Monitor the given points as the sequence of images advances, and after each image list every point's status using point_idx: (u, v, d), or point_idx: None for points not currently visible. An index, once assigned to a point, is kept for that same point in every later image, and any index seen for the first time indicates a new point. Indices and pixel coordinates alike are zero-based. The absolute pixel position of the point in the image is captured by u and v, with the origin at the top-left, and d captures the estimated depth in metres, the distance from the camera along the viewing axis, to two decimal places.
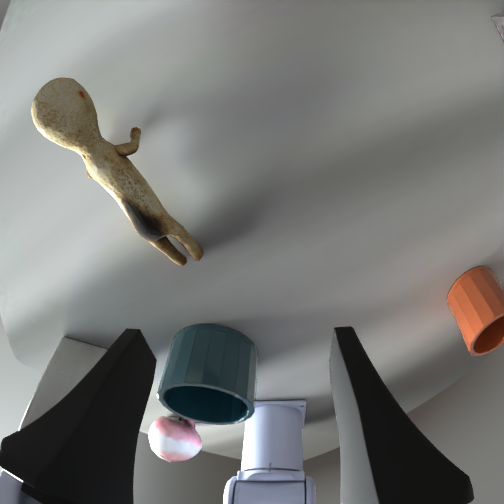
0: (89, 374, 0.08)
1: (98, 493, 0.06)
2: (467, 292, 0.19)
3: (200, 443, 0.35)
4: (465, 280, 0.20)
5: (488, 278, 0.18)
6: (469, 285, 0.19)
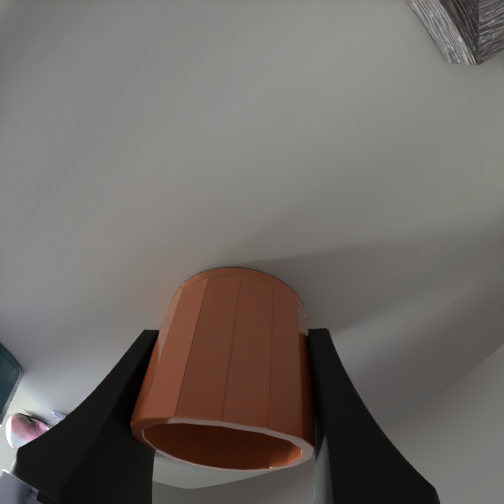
0: (108, 378, 0.08)
1: (119, 500, 0.06)
2: (162, 328, 0.10)
3: None
4: (174, 299, 0.10)
5: (218, 301, 0.09)
6: (171, 312, 0.10)
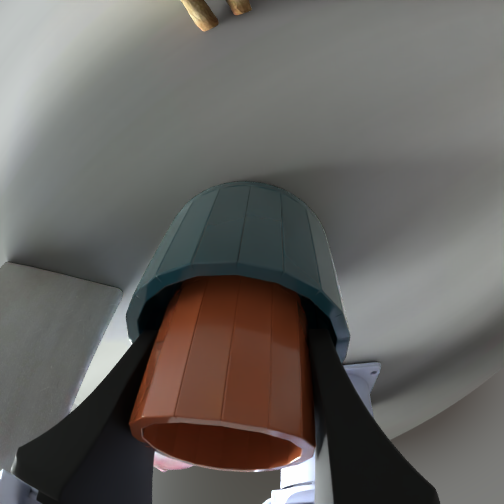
0: (108, 377, 0.08)
1: (119, 500, 0.06)
2: (161, 327, 0.09)
3: None
4: (174, 298, 0.10)
5: (217, 299, 0.09)
6: (170, 311, 0.10)
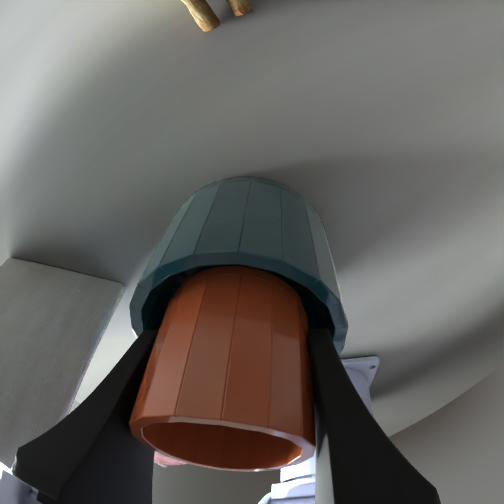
0: (108, 378, 0.08)
1: (119, 500, 0.06)
2: (162, 326, 0.09)
3: None
4: (174, 298, 0.10)
5: (217, 299, 0.09)
6: (170, 310, 0.10)
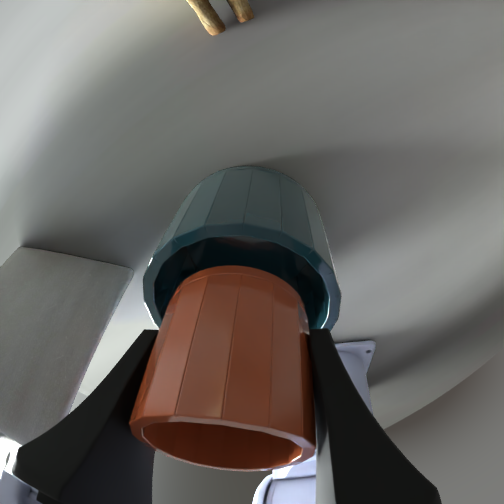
0: (108, 377, 0.08)
1: (119, 500, 0.06)
2: (162, 326, 0.09)
3: None
4: (174, 298, 0.10)
5: (218, 298, 0.09)
6: (170, 310, 0.10)
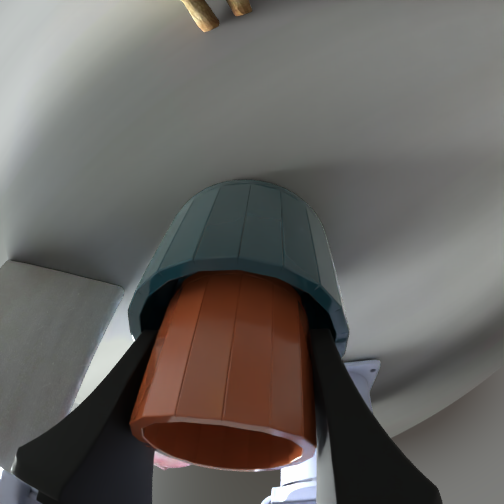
0: (108, 378, 0.08)
1: (119, 500, 0.06)
2: (162, 326, 0.09)
3: None
4: (174, 297, 0.10)
5: (218, 298, 0.09)
6: (171, 310, 0.10)
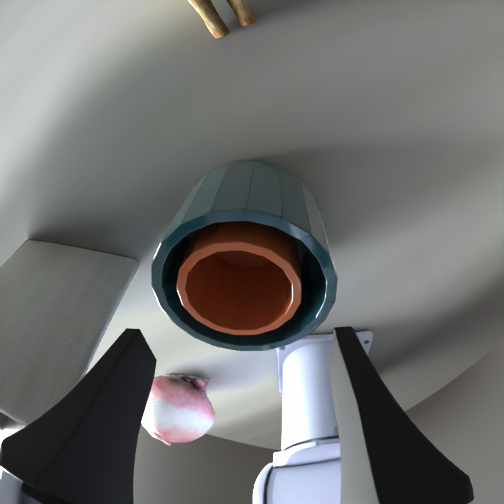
0: (89, 374, 0.08)
1: (98, 493, 0.06)
2: None
3: (213, 415, 0.26)
4: None
5: None
6: None
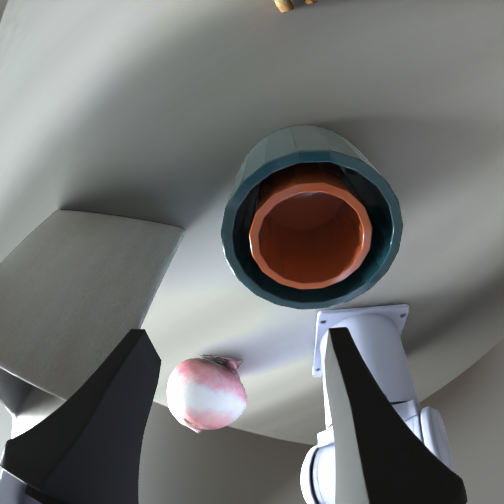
0: (94, 375, 0.08)
1: (104, 495, 0.06)
2: (262, 180, 0.15)
3: (246, 398, 0.25)
4: None
5: None
6: None
